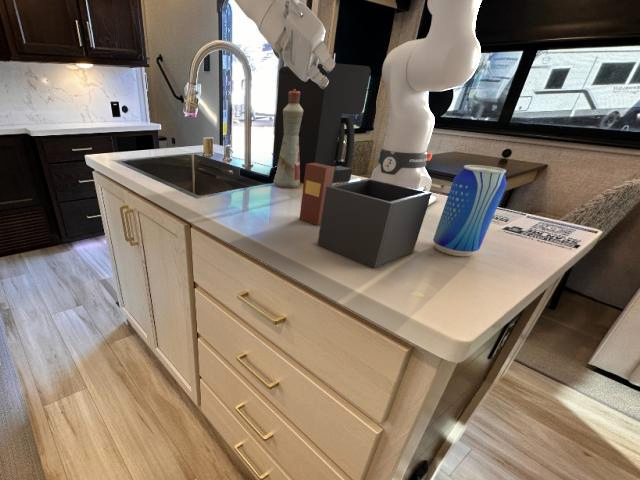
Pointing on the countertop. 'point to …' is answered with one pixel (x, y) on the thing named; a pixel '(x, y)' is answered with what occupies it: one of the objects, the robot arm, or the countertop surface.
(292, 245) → the countertop surface
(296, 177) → the bottle
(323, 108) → the coffee maker
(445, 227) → the beer can
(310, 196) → the packet
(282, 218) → the countertop surface
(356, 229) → the bin
